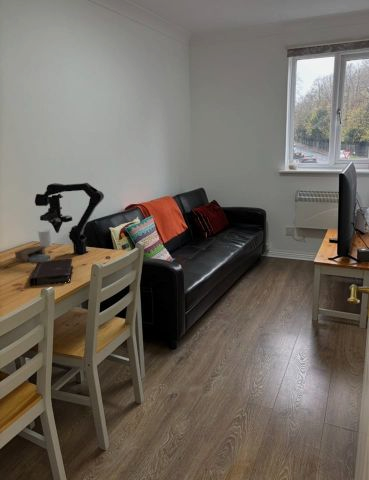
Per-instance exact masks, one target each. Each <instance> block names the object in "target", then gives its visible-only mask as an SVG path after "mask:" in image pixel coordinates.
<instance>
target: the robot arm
mask: <svg viewBox="0 0 369 480" xmlns="http://www.w3.org/2000/svg"><path fill="white" fill-rule="evenodd" d="M78 191H83V192H84V193H85V194H86V195H87V196H88V197H89V201H88V205H87V207H86V209H85V211H84V213H83V214H82V216H81V217H80V219H79V222H78V223H77V225H73V226H72V227H71V229H70V231H69V232H68V238H69V240H71V243H72V244H73V251H72V255H84V254H86V253H89V251H88V250H87V243H86V241H87V236H85V235H84V231H85V227H86V226H87V223H88V221H89V220H90V218H91V216H92V215H93V213H94V211H95V209H96V208H97V207H98V206H99V205H100V203H101V202H102V201H103V200H104V198H105V195H104V193H103V191H100V190H98V189H97V188H95V187H94V186H92V185H91V184H89V183H88V182H84V183H83V182H81V183H70V184H69V183H68V184H67V183H66V184H62V183H56V182H55V183H54V182H53V183H51V184H50V183H49V184H48V185H47V186H46V190H45V192H44V193H37V194H35V198H34V204H35V206H36V207H47V206H48V205H49V207H48V209H47V211H46V212H45V213H43V214H41V215H40V216H39V221H44V222H46V221H47V222H48V224H49V223H50V224H51V225H52V227H53V229H54V231H55V233H56V234H59V233H60V230H61V227H62V225H63V223H69V222H73V216H72V215H63V214H62V212H61V210H62V209H63V207H62V206H61V200H60V199H62V198H64V196H63V195H62V194H61V193H63V192H65V193H66V192H78Z"/></svg>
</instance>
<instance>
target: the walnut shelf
mask: <svg viewBox="0 0 369 480" xmlns="http://www.w3.org/2000/svg"><path fill="white" fill-rule="evenodd" d="M45 249H46V247H44V246H40V245H36V244H34V245H31V246H28V247H26V248H23V249H19V250H16V251H14V257H15V261H16V262H19V263H28V262H29V260H28V255H30V254H33V253H35V254H43V255H46V250H45Z"/></svg>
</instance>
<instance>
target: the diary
mask: <svg viewBox="0 0 369 480" xmlns="http://www.w3.org/2000/svg"><path fill="white" fill-rule="evenodd" d="M72 262H73V258H62V259H59V258H58V259H49V260H47V261H43V262H36V265H35V267H34V269H33V270H32V273H31V275H30V277H29V279H28V282H29V283H28V284H29V287H32V285H33V284H34V286H42V285H59V284H58V283H65V282H66V283H65V284H69V283H71V282H72V278H73V277H72V276H73V274H74V272H73V269H74V265H72V264H73V263H72ZM69 279H70V281H69ZM68 281H69V282H68Z"/></svg>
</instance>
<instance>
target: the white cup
mask: <svg viewBox="0 0 369 480" xmlns="http://www.w3.org/2000/svg"><path fill="white" fill-rule="evenodd" d="M52 231H53V230H52V229H51V228H46V229H45V228H43V229H39V230H37V233H38V238H39V239H38V240H39V246H44V247H45V248H50V247H52V246H53V232H52Z"/></svg>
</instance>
